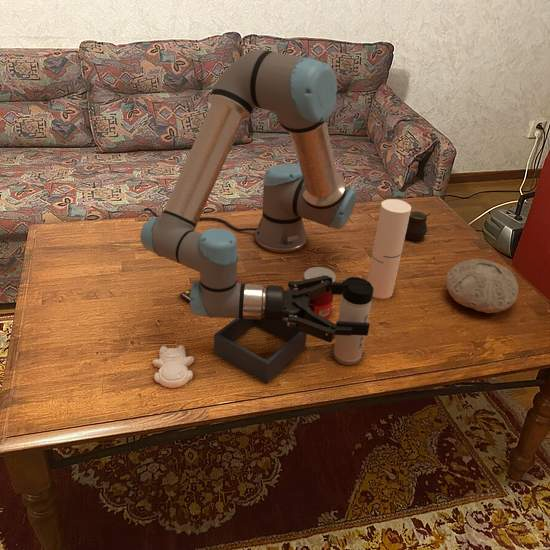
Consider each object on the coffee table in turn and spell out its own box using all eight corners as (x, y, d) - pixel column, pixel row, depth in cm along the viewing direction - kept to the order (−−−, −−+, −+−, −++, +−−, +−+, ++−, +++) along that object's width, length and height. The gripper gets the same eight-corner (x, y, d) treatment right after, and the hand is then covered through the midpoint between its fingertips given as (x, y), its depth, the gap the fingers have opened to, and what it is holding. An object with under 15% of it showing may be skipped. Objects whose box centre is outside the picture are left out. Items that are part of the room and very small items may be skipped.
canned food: (334, 307, 140) (339, 270, 134) (326, 325, 133) (331, 288, 127) (305, 299, 142) (309, 263, 135) (295, 317, 135) (299, 280, 129)
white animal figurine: (195, 349, 124) (195, 338, 122) (191, 388, 114) (191, 377, 112) (155, 349, 123) (154, 338, 121) (148, 388, 113) (147, 377, 111)
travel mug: (329, 347, 127) (340, 274, 116) (357, 346, 128) (371, 274, 117) (334, 366, 122) (345, 291, 111) (363, 365, 122) (378, 291, 111)
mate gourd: (407, 229, 176) (413, 200, 171) (429, 237, 173) (436, 208, 167) (397, 237, 171) (403, 208, 166) (420, 246, 168) (426, 216, 162)
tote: (213, 353, 123) (213, 334, 120) (254, 321, 133) (255, 303, 130) (266, 383, 116) (268, 364, 113) (305, 347, 126) (307, 329, 123)
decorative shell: (494, 331, 135) (506, 298, 130) (429, 299, 145) (438, 267, 139) (523, 301, 147) (535, 269, 141) (461, 273, 156) (470, 243, 151)
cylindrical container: (392, 300, 144) (411, 214, 130) (364, 296, 144) (380, 210, 131) (393, 285, 149) (411, 201, 135) (366, 281, 150) (381, 197, 136)
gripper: (266, 283, 130) (356, 289, 130) (260, 355, 109) (368, 362, 109) (267, 256, 126) (361, 262, 126) (262, 326, 105) (374, 333, 105)
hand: (364, 308), depth 117 cm, fingers open, 13 cm apart
